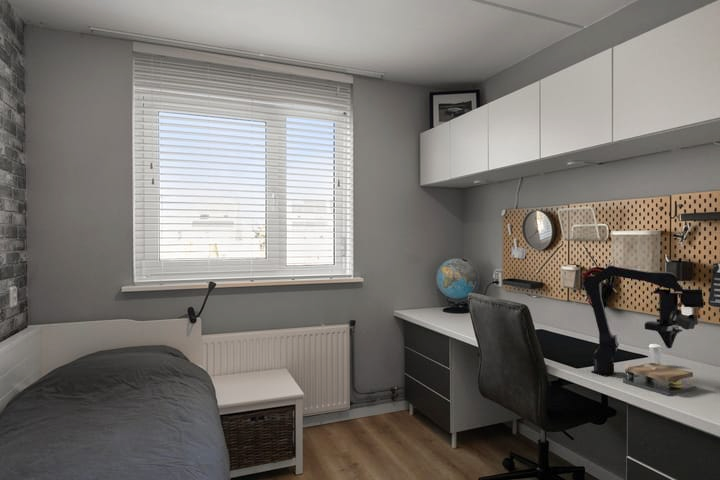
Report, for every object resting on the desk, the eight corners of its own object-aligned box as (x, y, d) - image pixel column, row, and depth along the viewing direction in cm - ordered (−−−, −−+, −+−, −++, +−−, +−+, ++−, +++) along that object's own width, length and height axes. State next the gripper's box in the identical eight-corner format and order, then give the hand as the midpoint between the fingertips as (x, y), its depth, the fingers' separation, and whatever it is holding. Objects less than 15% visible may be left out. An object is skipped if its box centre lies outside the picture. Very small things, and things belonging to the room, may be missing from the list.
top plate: (625, 372, 162) (624, 363, 162) (649, 367, 167) (649, 359, 167) (667, 384, 148) (667, 375, 148) (693, 378, 153) (692, 369, 153)
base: (622, 382, 162) (622, 370, 162) (650, 376, 168) (649, 365, 168) (668, 396, 147) (668, 383, 147) (697, 389, 153) (697, 376, 153)
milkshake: (665, 367, 180) (665, 343, 180) (650, 366, 182) (650, 342, 182) (662, 364, 184) (662, 341, 185) (648, 363, 186) (647, 340, 186)
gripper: (674, 310, 150) (675, 355, 150) (708, 307, 157) (709, 350, 157) (643, 306, 160) (643, 348, 160) (676, 303, 167) (676, 344, 167)
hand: (669, 348), depth 161 cm, fingers closed
